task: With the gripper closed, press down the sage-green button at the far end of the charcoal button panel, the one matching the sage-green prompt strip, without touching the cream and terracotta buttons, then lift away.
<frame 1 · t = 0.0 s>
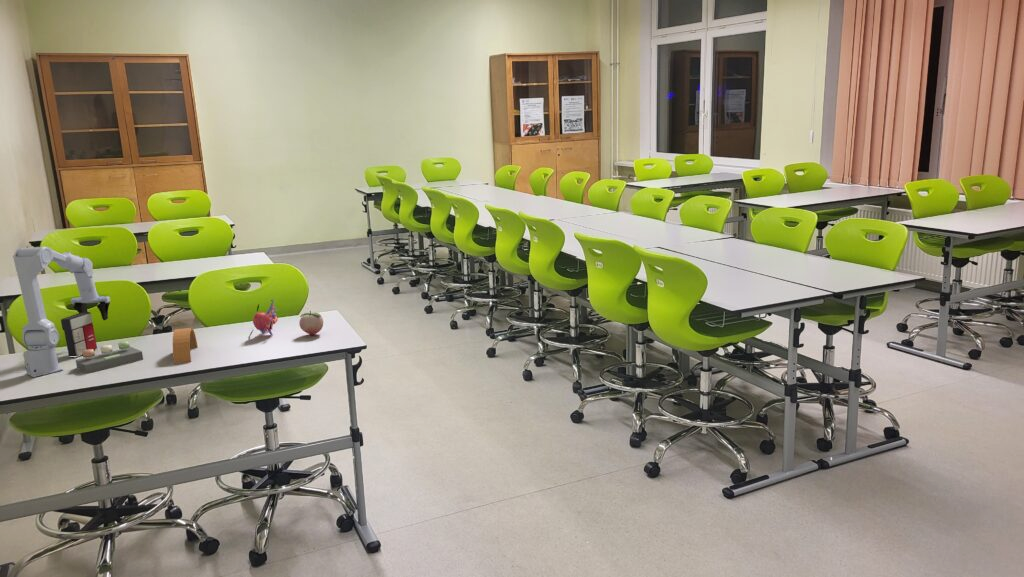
hand: (96, 319, 289), 11 cm above the table, tool pointing down, fingers open, 7 cm apart
cream button: (106, 349, 266), point 5 cm above the table, slide at 0.0 cm
button panel: (110, 363, 266), on the table
sage button: (124, 345, 270), point 5 cm above the table, slide at 0.0 cm
terracotta button: (88, 353, 262), point 5 cm above the table, slide at 0.0 cm
grey and red box: (83, 353, 281), on the table
decorative fruit: (313, 335, 291), on the table
arch: (186, 356, 272), on the table
heart model: (264, 335, 295), on the table
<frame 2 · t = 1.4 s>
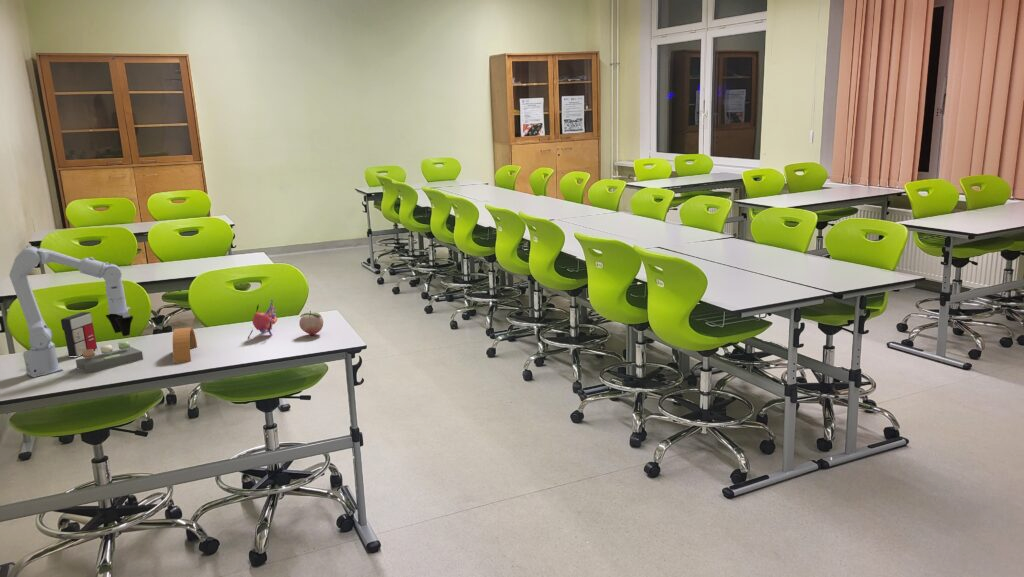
hand: (122, 333, 269), 9 cm above the table, tool pointing down, fingers open, 7 cm apart
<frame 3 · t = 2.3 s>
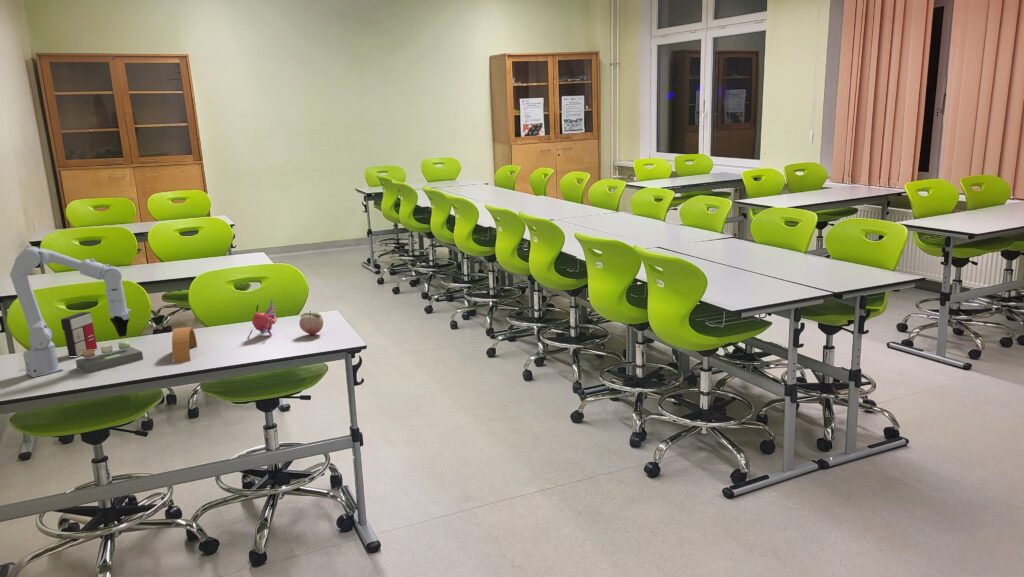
hand: (122, 336, 269), 9 cm above the table, tool pointing down, fingers closed
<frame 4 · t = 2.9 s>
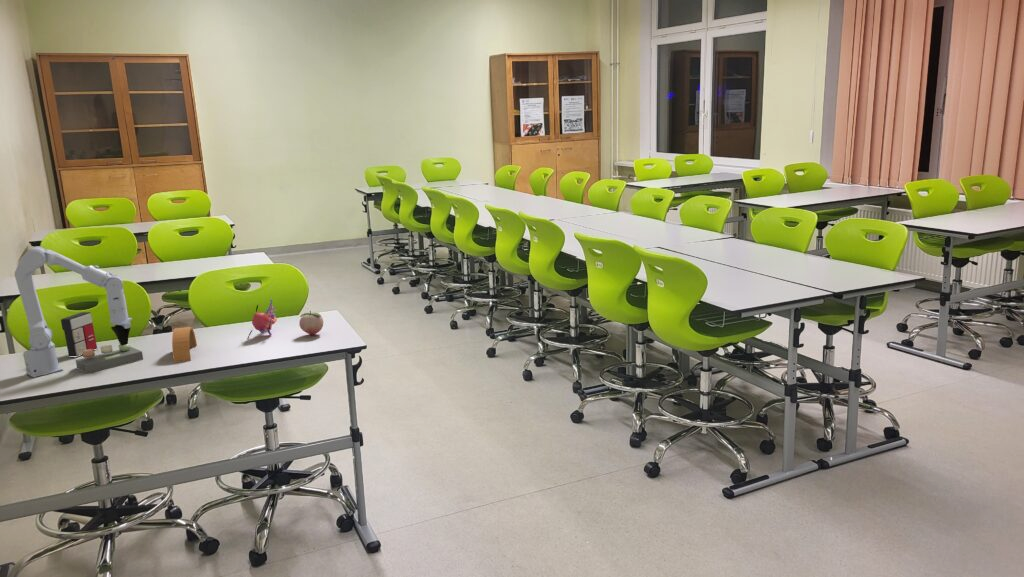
hand: (124, 344, 270), 5 cm above the table, tool pointing down, fingers closed, pressing on sage button
sage button: (124, 347, 270), point 4 cm above the table, slide at 0.8 cm, touching gripper
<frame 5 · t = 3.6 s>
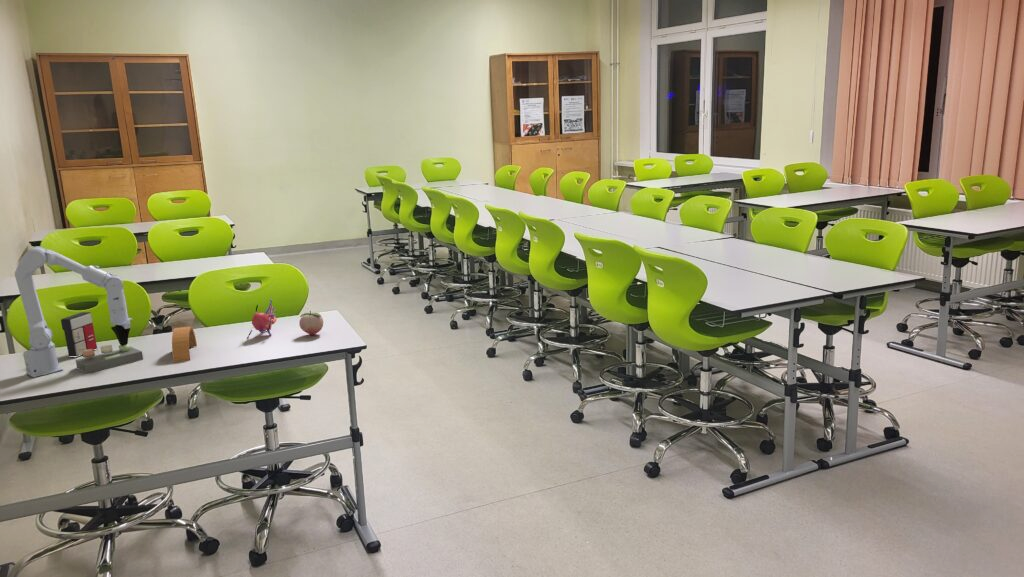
hand: (123, 344, 270), 5 cm above the table, tool pointing down, fingers closed
sage button: (124, 347, 270), point 4 cm above the table, slide at 1.1 cm
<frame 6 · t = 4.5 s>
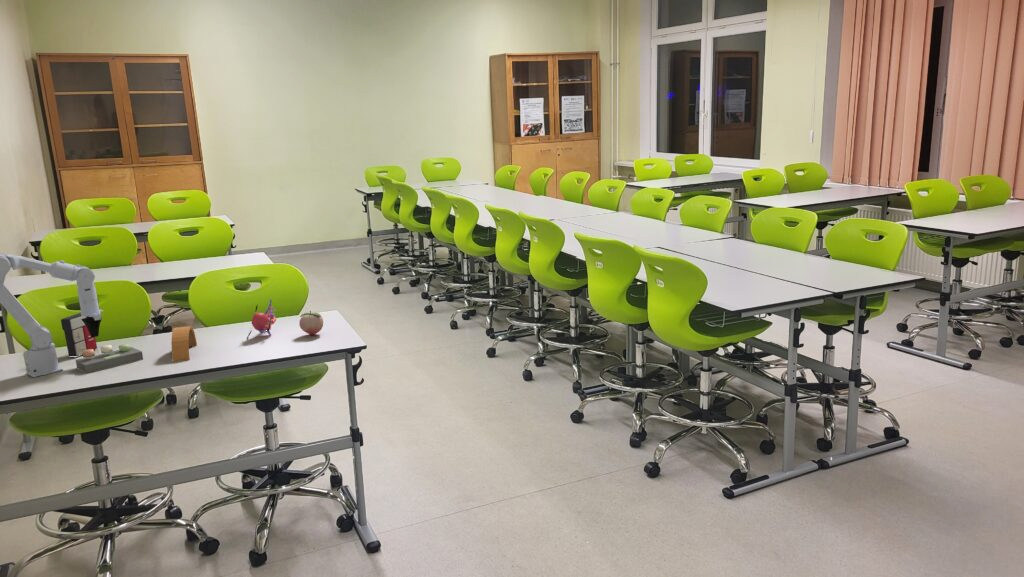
hand: (94, 336, 268), 9 cm above the table, tool pointing down, fingers closed
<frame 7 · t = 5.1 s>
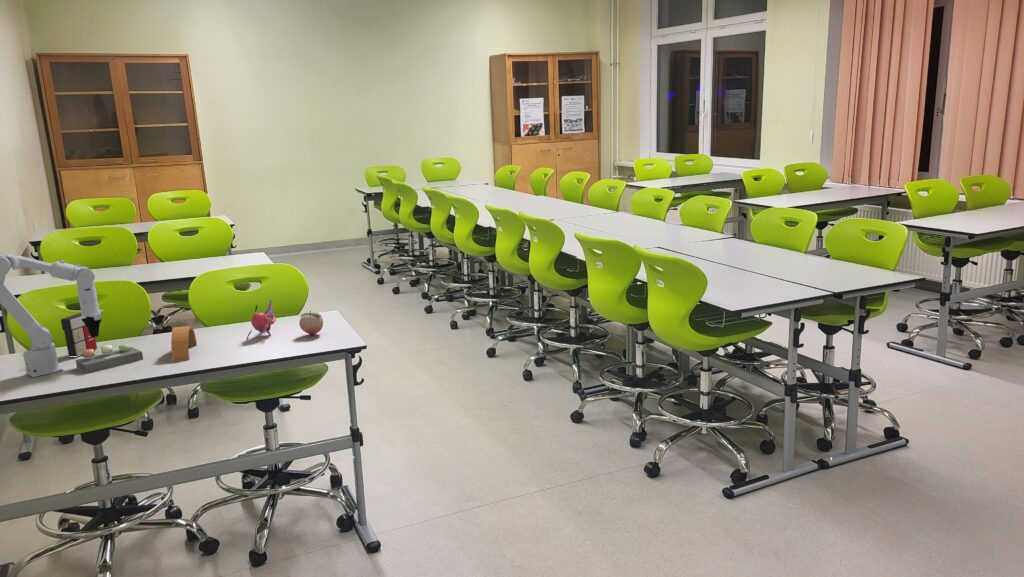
hand: (94, 336, 268), 9 cm above the table, tool pointing down, fingers closed
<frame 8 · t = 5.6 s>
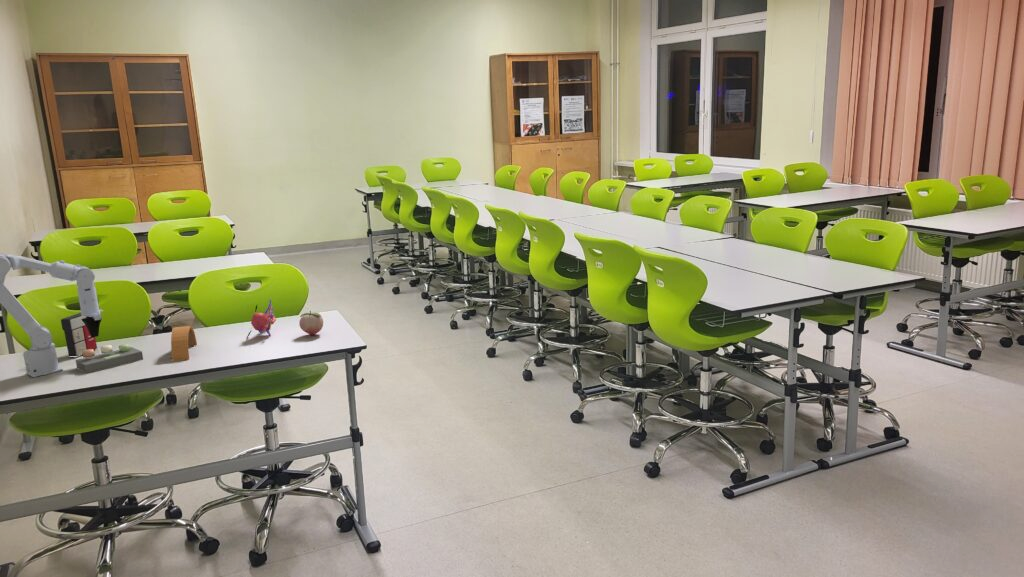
hand: (94, 336, 268), 9 cm above the table, tool pointing down, fingers closed
at the end: sage button slide at 1.1 cm; cream button slide at 0.0 cm; terracotta button slide at 0.0 cm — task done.
